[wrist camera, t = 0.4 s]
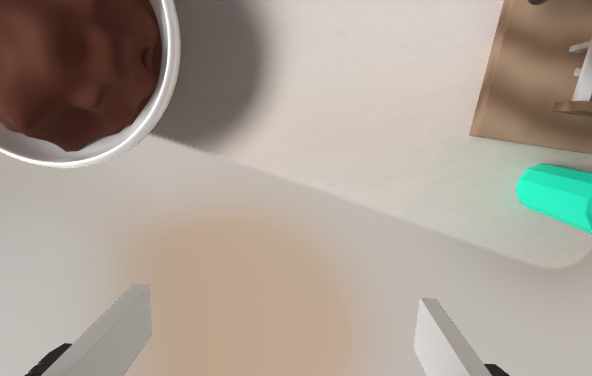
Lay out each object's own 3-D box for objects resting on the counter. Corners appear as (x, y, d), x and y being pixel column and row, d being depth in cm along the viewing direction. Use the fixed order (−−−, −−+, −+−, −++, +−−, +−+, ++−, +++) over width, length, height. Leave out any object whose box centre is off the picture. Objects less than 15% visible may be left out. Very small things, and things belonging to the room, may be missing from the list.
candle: (531, 219, 42) (619, 258, 31) (507, 183, 41) (587, 210, 30) (574, 190, 42) (680, 219, 30) (549, 153, 41) (649, 168, 29)
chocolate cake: (205, -61, 36) (138, -181, 22) (206, 162, 42) (153, 188, 27) (-18, -71, 37) (-233, -197, 22) (12, 151, 42) (-145, 171, 27)
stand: (521, -68, 36) (564, -104, 30) (657, -47, 36) (726, -79, 30) (469, 135, 40) (497, 138, 34) (589, 153, 40) (637, 159, 35)
